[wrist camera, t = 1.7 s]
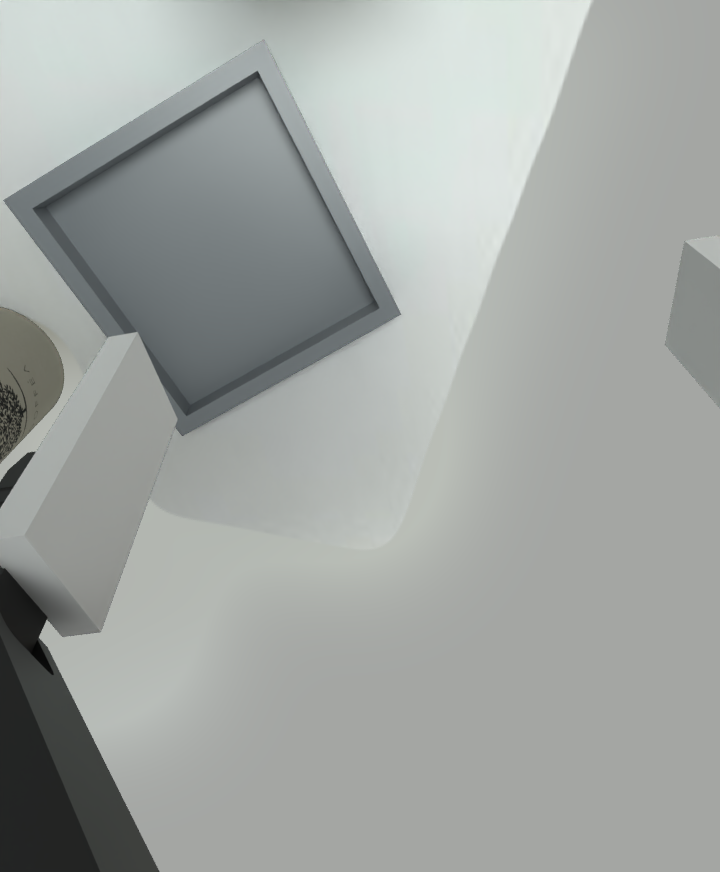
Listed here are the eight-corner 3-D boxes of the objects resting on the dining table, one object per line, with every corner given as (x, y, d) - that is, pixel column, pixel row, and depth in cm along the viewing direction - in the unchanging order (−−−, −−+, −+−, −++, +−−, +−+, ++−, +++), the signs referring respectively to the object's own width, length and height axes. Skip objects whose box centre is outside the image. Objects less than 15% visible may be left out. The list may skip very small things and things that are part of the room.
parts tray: (25, 197, 33) (3, 200, 31) (265, 50, 32) (264, 39, 29) (188, 418, 40) (182, 436, 37) (392, 304, 39) (401, 314, 36)
